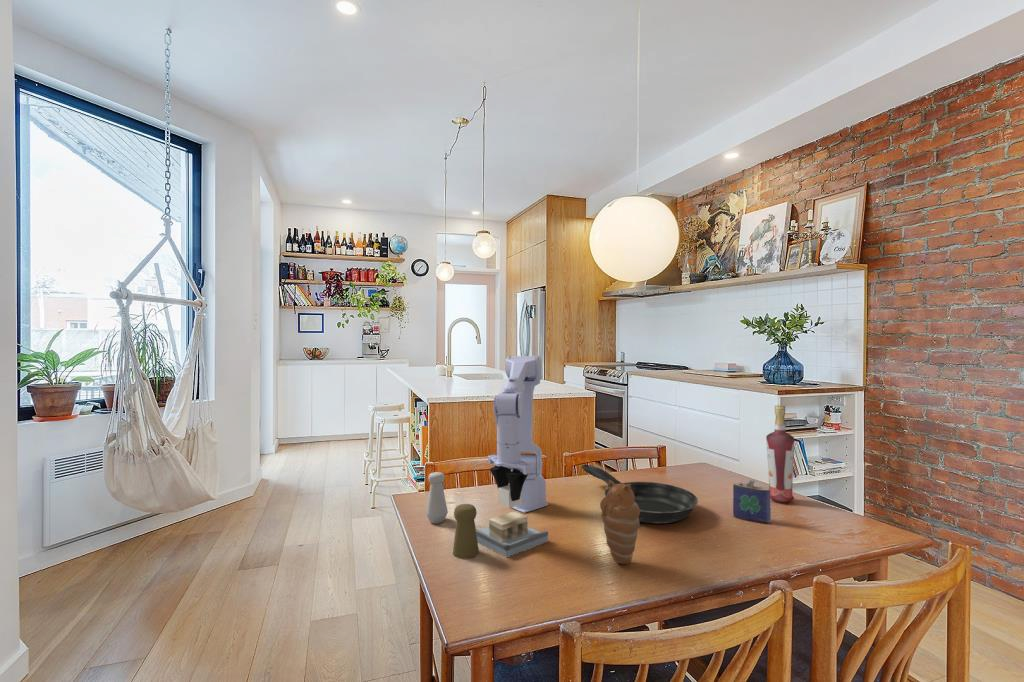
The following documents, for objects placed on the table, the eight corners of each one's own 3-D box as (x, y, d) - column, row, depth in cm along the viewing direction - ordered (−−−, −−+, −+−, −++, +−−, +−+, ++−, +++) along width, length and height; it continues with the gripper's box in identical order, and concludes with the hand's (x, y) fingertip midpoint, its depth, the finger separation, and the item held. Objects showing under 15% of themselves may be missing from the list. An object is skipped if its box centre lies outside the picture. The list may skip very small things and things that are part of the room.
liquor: (794, 506, 142) (794, 408, 141) (766, 502, 145) (765, 407, 145) (795, 499, 148) (794, 405, 148) (767, 495, 152) (766, 403, 151)
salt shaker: (443, 525, 132) (442, 476, 132) (423, 524, 133) (422, 475, 133) (450, 517, 138) (449, 470, 137) (431, 516, 139) (430, 469, 139)
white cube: (511, 500, 125) (510, 484, 125) (521, 504, 122) (521, 488, 122) (498, 504, 122) (498, 487, 122) (508, 508, 119) (508, 491, 119)
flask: (771, 522, 131) (771, 481, 131) (769, 525, 128) (768, 484, 128) (734, 514, 137) (734, 475, 136) (731, 517, 134) (730, 478, 134)
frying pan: (718, 519, 134) (718, 494, 134) (646, 537, 123) (645, 510, 122) (615, 478, 173) (615, 458, 173) (553, 489, 162) (553, 468, 162)
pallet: (514, 527, 126) (514, 511, 126) (527, 532, 122) (527, 516, 122) (489, 535, 121) (489, 519, 121) (502, 542, 117) (501, 525, 117)
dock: (511, 525, 131) (511, 515, 131) (548, 541, 121) (548, 531, 121) (471, 538, 123) (470, 528, 123) (506, 557, 112) (506, 546, 112)
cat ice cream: (594, 563, 109) (593, 481, 108) (613, 551, 114) (612, 473, 114) (631, 576, 103) (630, 489, 102) (649, 563, 109) (648, 481, 108)
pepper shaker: (468, 560, 111) (467, 511, 111) (447, 554, 114) (446, 507, 114) (484, 550, 116) (483, 503, 116) (463, 545, 119) (462, 499, 119)
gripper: (477, 440, 125) (478, 494, 125) (515, 449, 113) (516, 509, 114) (499, 436, 129) (500, 488, 129) (538, 445, 118) (538, 502, 118)
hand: (509, 497), depth 122 cm, fingers closed on white cube, 4 cm apart
